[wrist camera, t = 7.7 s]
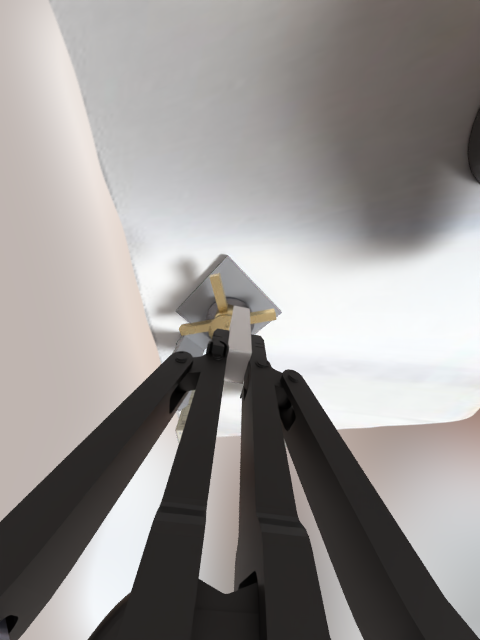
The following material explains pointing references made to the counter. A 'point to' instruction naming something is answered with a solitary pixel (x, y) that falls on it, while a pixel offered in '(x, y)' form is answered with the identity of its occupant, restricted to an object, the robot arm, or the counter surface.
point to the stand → (204, 297)
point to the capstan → (223, 312)
